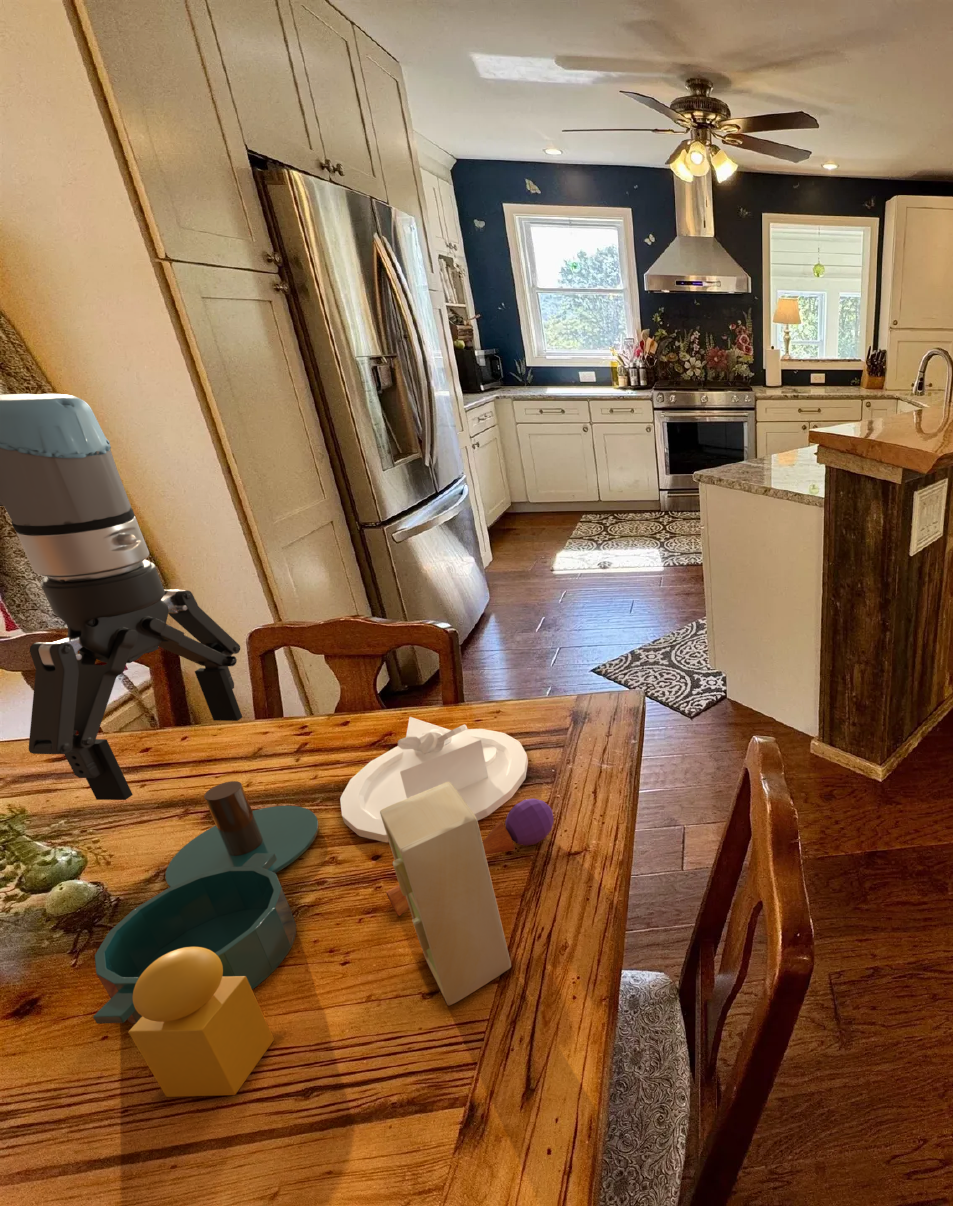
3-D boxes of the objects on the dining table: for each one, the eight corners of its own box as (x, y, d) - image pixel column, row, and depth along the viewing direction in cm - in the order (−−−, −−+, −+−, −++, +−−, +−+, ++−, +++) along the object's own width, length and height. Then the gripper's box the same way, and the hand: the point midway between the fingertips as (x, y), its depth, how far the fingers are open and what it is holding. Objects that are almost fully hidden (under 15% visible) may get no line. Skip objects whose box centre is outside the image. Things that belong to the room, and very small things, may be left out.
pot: (49, 1059, 60) (18, 1013, 58) (217, 890, 78) (199, 849, 76) (209, 1055, 61) (185, 1009, 58) (339, 888, 79) (325, 848, 76)
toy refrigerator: (415, 962, 70) (370, 811, 62) (485, 923, 75) (451, 778, 67) (439, 1014, 65) (393, 857, 57) (512, 968, 70) (479, 818, 62)
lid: (132, 901, 76) (98, 835, 72) (232, 812, 90) (208, 753, 86) (266, 899, 77) (240, 834, 73) (345, 811, 91) (326, 752, 87)
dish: (556, 782, 98) (547, 721, 94) (370, 871, 82) (348, 801, 77) (490, 718, 114) (479, 662, 109) (322, 782, 97) (301, 719, 92)
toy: (162, 1101, 57) (98, 992, 52) (213, 1037, 62) (159, 932, 57) (232, 1099, 57) (176, 991, 52) (277, 1036, 63) (230, 931, 57)
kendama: (376, 873, 76) (534, 784, 89) (394, 912, 78) (546, 819, 91) (390, 894, 72) (554, 798, 85) (409, 934, 74) (566, 834, 87)
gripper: (-16, 625, 49) (96, 840, 57) (242, 530, 71) (295, 694, 80) (-119, 622, 48) (8, 839, 57) (173, 528, 71) (233, 692, 80)
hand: (176, 754), depth 68 cm, fingers open, 13 cm apart
